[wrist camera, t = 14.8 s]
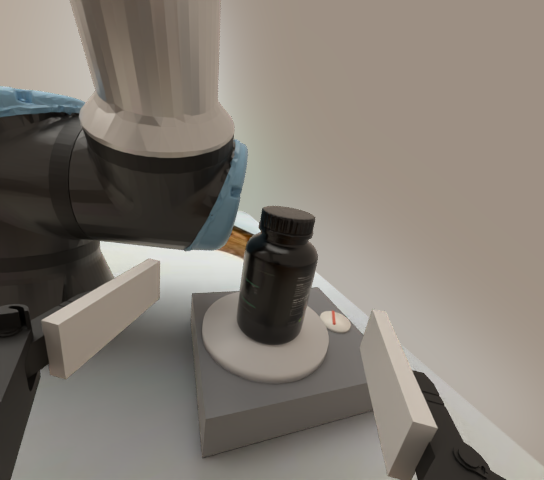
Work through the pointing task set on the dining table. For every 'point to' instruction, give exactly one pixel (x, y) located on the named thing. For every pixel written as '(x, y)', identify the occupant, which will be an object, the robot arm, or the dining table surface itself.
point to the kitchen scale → (272, 374)
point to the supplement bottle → (277, 276)
